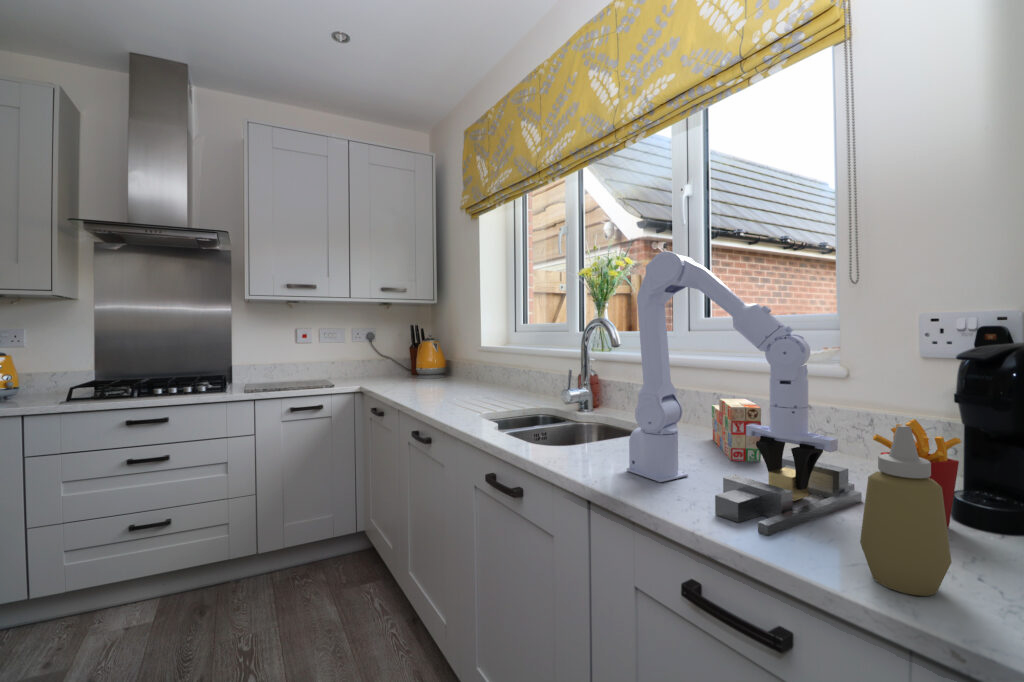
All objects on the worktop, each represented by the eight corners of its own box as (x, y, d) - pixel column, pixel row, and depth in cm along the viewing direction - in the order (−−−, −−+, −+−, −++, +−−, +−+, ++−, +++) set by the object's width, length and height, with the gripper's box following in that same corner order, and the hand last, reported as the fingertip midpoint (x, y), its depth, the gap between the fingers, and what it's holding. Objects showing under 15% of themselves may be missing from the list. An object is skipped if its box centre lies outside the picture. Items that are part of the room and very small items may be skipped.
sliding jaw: (699, 508, 79) (699, 483, 79) (734, 497, 83) (734, 474, 83) (756, 529, 70) (756, 502, 70) (793, 516, 75) (793, 491, 74)
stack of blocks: (711, 439, 127) (711, 393, 127) (737, 440, 126) (737, 393, 126) (730, 461, 107) (730, 406, 106) (761, 462, 105) (761, 406, 105)
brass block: (768, 494, 83) (768, 471, 83) (785, 489, 86) (785, 467, 85) (791, 501, 80) (791, 477, 79) (808, 496, 82) (808, 472, 82)
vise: (697, 509, 78) (697, 478, 78) (796, 480, 92) (796, 454, 92) (768, 536, 68) (767, 500, 68) (867, 498, 82) (867, 469, 82)
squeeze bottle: (843, 568, 59) (843, 421, 58) (904, 564, 59) (905, 418, 59) (902, 606, 51) (902, 435, 50) (972, 601, 51) (973, 432, 51)
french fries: (961, 529, 69) (962, 425, 69) (912, 534, 68) (912, 428, 68) (903, 507, 78) (903, 415, 78) (858, 511, 77) (858, 417, 76)
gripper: (847, 409, 78) (847, 492, 78) (762, 398, 90) (762, 470, 91) (823, 413, 74) (823, 501, 75) (738, 402, 87) (738, 476, 87)
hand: (788, 485), depth 82 cm, fingers closed on brass block, 4 cm apart
